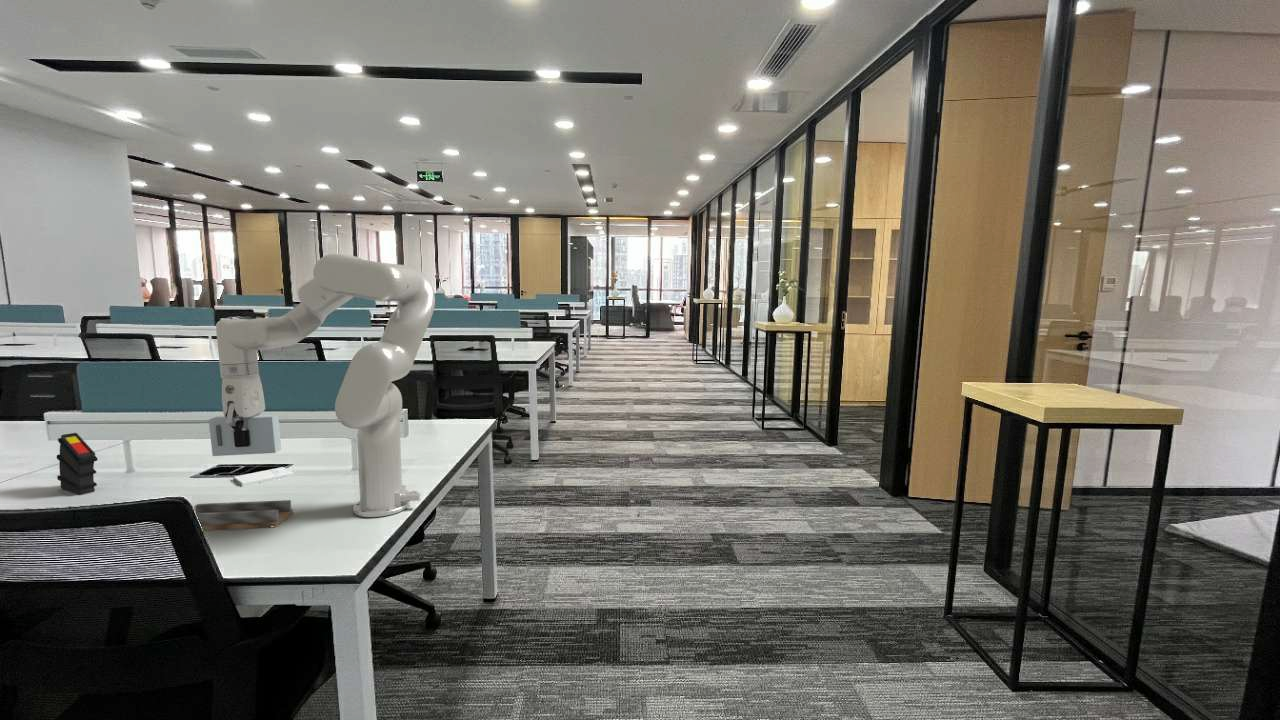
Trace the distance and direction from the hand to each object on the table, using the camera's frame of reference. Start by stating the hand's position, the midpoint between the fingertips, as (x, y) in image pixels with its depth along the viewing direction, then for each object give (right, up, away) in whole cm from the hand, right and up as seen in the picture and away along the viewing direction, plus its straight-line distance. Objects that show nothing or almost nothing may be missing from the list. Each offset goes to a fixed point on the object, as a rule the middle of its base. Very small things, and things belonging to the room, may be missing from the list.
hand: (246, 443), depth 137 cm
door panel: (0, -2, 0) cm, 2 cm away
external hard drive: (-11, -14, +22) cm, 28 cm away
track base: (+4, -17, -9) cm, 19 cm away
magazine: (-51, -14, +10) cm, 54 cm away
